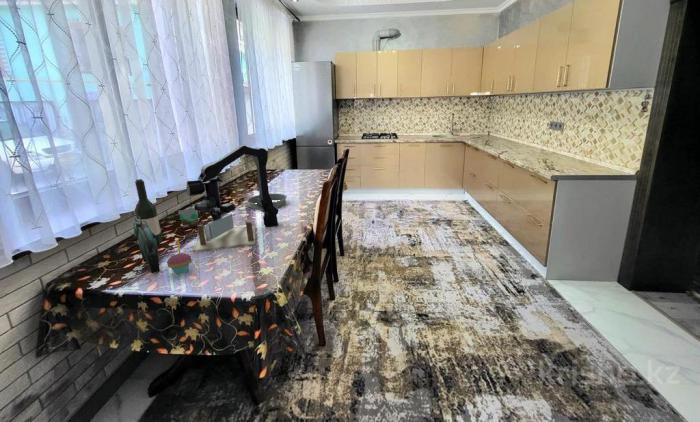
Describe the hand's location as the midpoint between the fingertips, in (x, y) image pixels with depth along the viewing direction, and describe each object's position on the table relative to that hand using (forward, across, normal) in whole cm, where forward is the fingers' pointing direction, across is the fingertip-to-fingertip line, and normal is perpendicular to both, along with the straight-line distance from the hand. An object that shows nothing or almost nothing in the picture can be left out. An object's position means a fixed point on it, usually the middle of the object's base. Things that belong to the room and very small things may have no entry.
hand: (217, 224), depth 167 cm
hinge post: (+6, +1, -12) cm, 13 cm away
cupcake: (+6, +10, -35) cm, 37 cm away
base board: (+6, +6, -1) cm, 9 cm away
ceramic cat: (+7, -6, -33) cm, 34 cm away
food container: (+7, -26, +12) cm, 29 cm away
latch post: (+6, +19, -2) cm, 20 cm away
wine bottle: (+7, -27, -13) cm, 31 cm away
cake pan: (+7, -8, +56) cm, 57 cm away
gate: (+4, +3, -2) cm, 5 cm away
